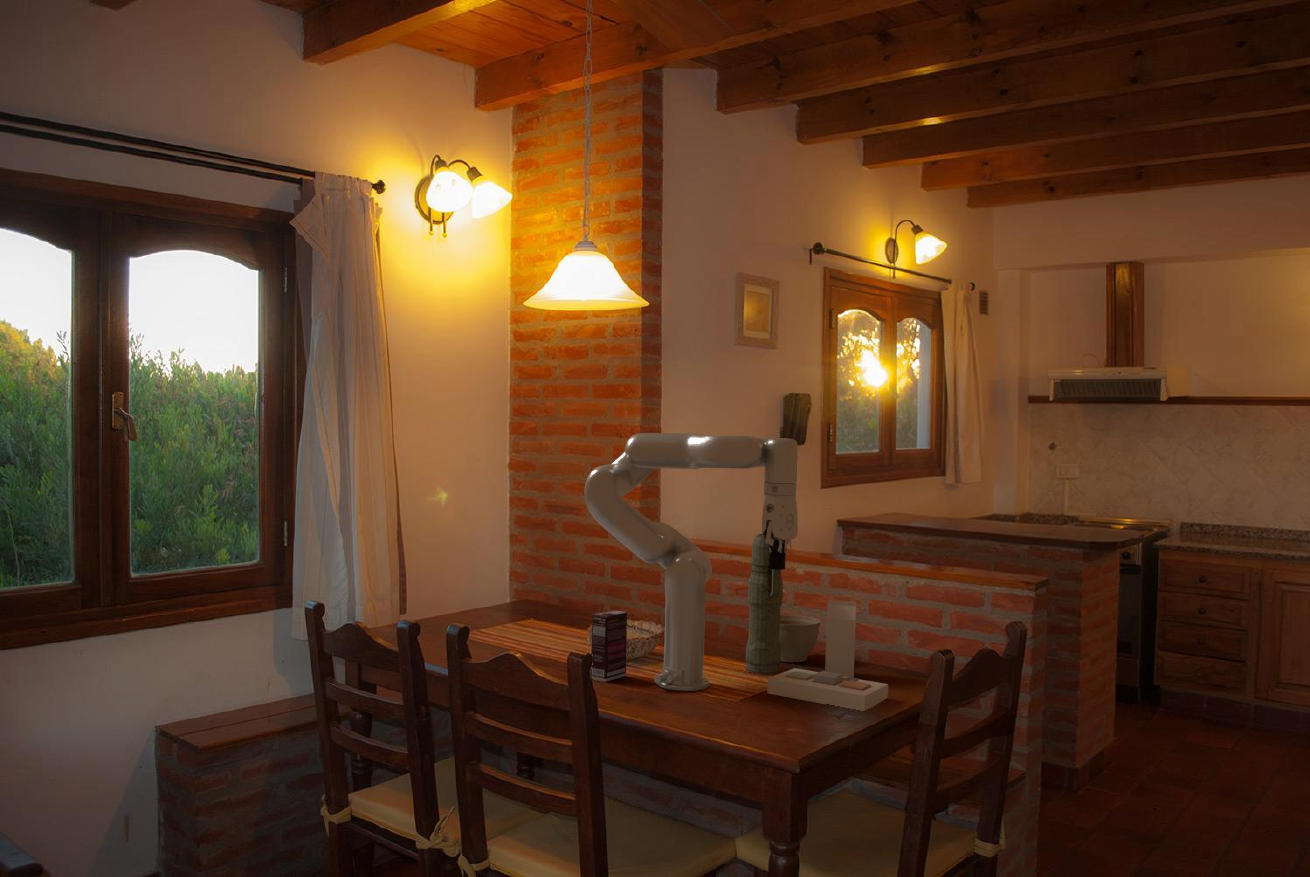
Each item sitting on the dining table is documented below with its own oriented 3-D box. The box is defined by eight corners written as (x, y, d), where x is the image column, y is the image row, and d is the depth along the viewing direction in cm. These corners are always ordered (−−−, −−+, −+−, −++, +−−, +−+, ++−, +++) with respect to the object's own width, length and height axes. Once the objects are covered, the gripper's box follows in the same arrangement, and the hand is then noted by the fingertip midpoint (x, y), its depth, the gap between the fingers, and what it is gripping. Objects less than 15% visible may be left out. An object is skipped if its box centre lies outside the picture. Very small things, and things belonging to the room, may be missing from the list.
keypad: (864, 711, 221) (864, 694, 221) (767, 693, 235) (767, 676, 235) (887, 699, 233) (888, 682, 233) (794, 682, 246) (794, 666, 246)
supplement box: (611, 673, 250) (613, 609, 250) (626, 676, 247) (628, 612, 247) (589, 679, 243) (591, 613, 243) (604, 682, 240) (607, 616, 240)
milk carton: (853, 679, 251) (856, 604, 251) (824, 677, 253) (827, 602, 253) (853, 673, 258) (856, 599, 258) (825, 671, 260) (828, 598, 260)
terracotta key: (861, 699, 227) (862, 688, 227) (841, 695, 229) (841, 684, 229) (870, 695, 231) (870, 684, 231) (849, 691, 233) (850, 680, 233)
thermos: (761, 677, 250) (765, 537, 250) (735, 667, 261) (740, 532, 261) (790, 674, 254) (795, 536, 254) (764, 664, 265) (768, 532, 265)
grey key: (833, 688, 230) (833, 678, 230) (813, 685, 233) (813, 674, 233) (842, 684, 235) (842, 674, 235) (822, 681, 237) (822, 670, 237)
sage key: (805, 688, 234) (805, 678, 234) (785, 685, 237) (786, 674, 237) (814, 685, 239) (814, 674, 239) (795, 681, 241) (795, 671, 241)
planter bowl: (807, 653, 282) (808, 614, 282) (827, 666, 266) (828, 625, 266) (752, 653, 279) (753, 614, 279) (768, 666, 263) (769, 624, 263)
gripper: (779, 492, 227) (776, 573, 227) (808, 491, 239) (805, 568, 239) (750, 490, 231) (747, 570, 231) (780, 489, 244) (777, 564, 243)
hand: (777, 569), depth 235 cm, fingers closed
